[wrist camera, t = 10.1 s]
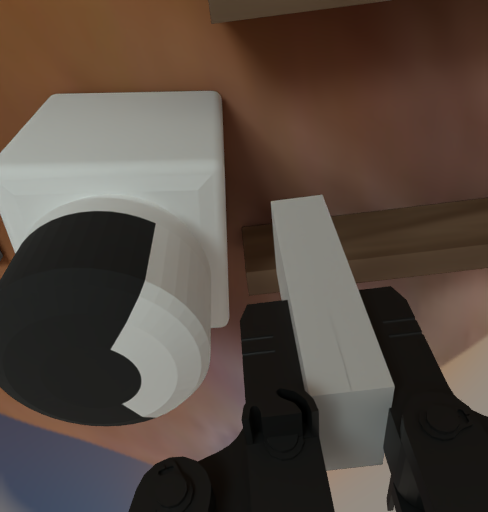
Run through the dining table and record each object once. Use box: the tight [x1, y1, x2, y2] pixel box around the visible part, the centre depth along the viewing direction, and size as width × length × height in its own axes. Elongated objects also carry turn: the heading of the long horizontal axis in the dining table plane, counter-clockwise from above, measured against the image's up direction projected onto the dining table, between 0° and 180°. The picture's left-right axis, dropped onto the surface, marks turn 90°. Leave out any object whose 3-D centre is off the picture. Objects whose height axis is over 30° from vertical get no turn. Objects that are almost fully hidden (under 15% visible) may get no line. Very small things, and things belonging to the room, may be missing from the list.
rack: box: [208, 0, 488, 296], centre depth 20 cm, size 14×15×4 cm
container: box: [0, 91, 229, 426], centre depth 18 cm, size 8×8×13 cm
